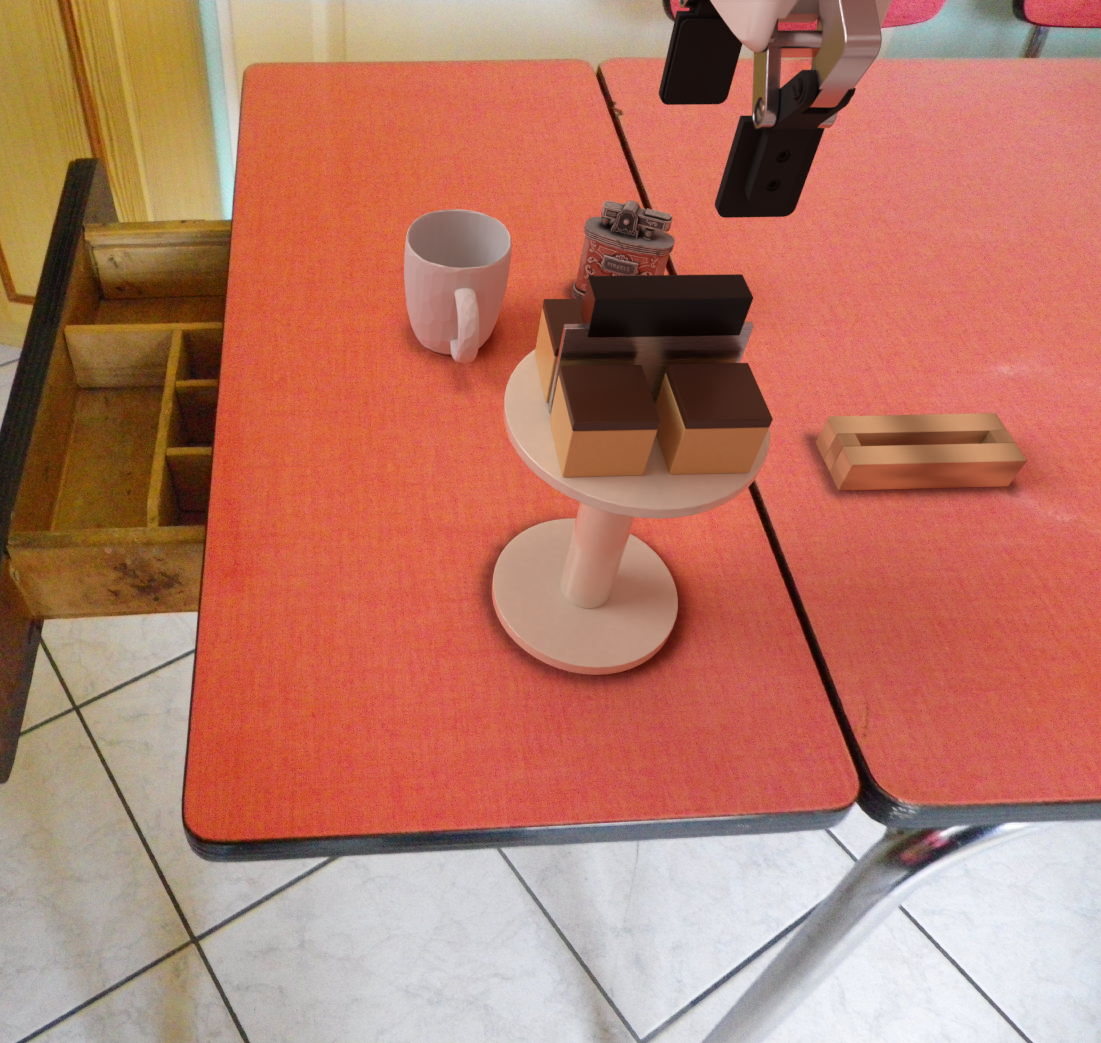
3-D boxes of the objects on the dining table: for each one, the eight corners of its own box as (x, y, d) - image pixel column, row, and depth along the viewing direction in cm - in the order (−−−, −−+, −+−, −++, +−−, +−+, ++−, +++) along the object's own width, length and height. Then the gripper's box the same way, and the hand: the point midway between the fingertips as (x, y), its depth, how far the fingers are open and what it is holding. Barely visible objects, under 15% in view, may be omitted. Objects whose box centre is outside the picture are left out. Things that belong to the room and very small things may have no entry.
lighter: (567, 300, 90) (585, 205, 83) (577, 280, 92) (595, 186, 85) (651, 322, 89) (677, 227, 81) (659, 302, 91) (685, 207, 83)
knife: (716, 396, 55) (761, 273, 49) (726, 420, 54) (773, 297, 48) (545, 399, 55) (568, 275, 48) (551, 423, 53) (575, 299, 47)
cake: (700, 350, 58) (719, 296, 55) (749, 473, 51) (773, 419, 48) (534, 353, 57) (543, 298, 54) (562, 477, 51) (574, 423, 48)
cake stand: (724, 581, 69) (811, 395, 55) (626, 729, 61) (699, 555, 47) (547, 487, 75) (586, 297, 61) (436, 611, 67) (452, 425, 53)
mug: (397, 305, 89) (399, 209, 82) (491, 301, 90) (502, 205, 82) (412, 397, 81) (417, 300, 73) (516, 391, 82) (531, 295, 74)
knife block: (978, 439, 80) (996, 412, 77) (1008, 486, 76) (1027, 460, 74) (815, 442, 79) (828, 415, 77) (837, 490, 75) (852, 464, 73)
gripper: (1146, -324, 24) (876, 265, 37) (880, -406, 35) (745, 66, 48) (854, -329, 23) (685, 268, 36) (679, -411, 35) (598, 67, 48)
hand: (719, 153), depth 42 cm, fingers open, 9 cm apart
